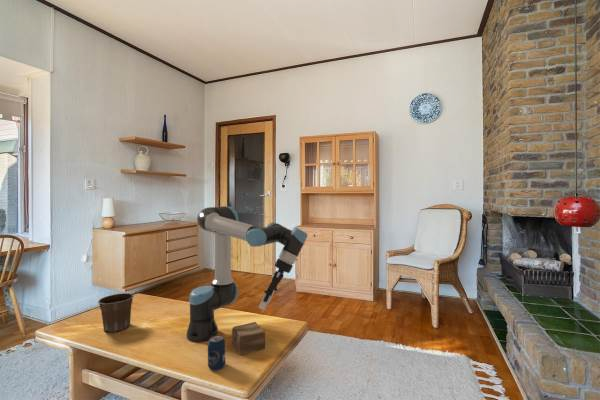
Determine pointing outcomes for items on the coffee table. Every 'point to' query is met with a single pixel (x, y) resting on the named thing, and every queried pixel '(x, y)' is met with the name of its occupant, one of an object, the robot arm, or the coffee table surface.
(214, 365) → the soda can
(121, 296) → the plant pot
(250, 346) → the block
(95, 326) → the coffee table surface
